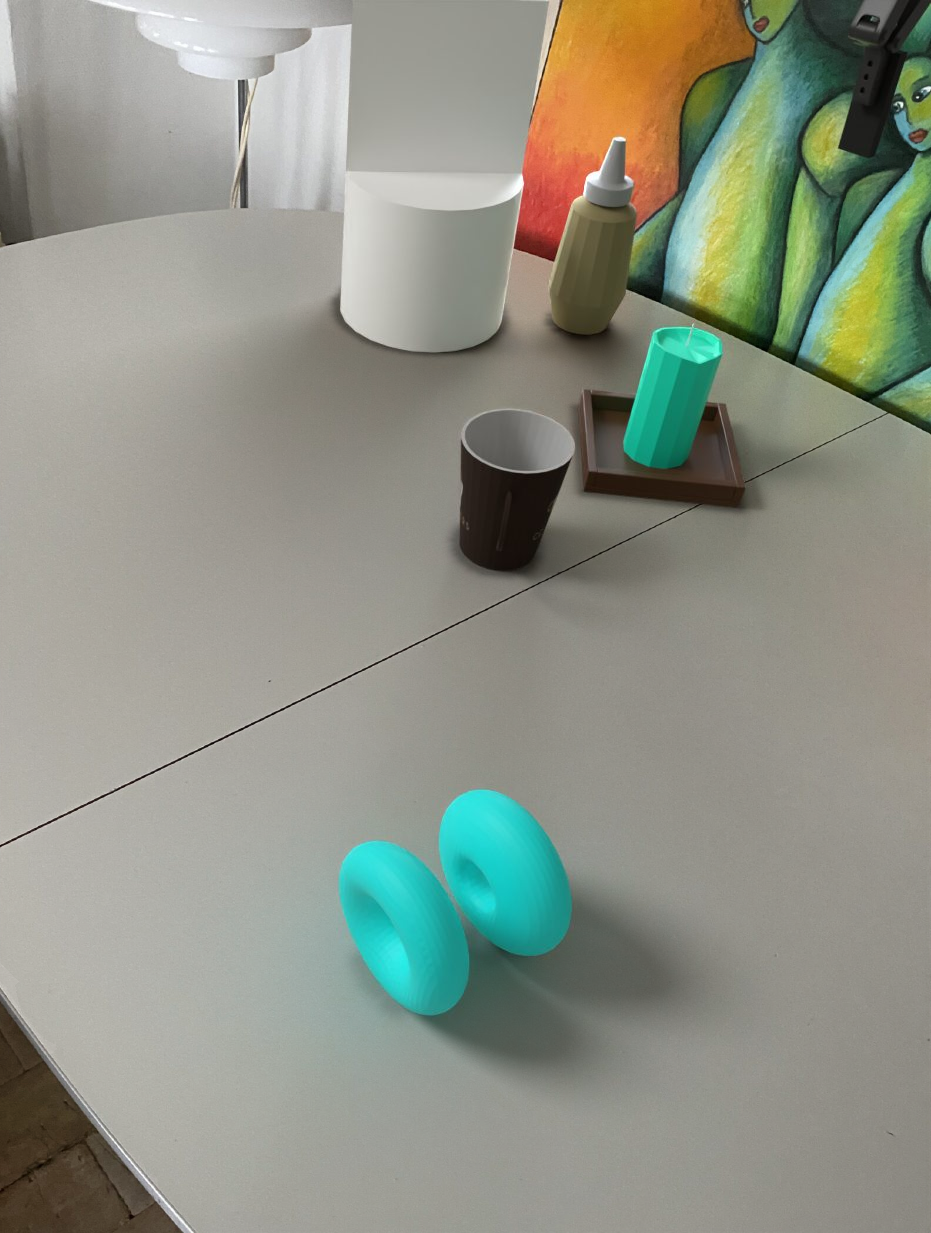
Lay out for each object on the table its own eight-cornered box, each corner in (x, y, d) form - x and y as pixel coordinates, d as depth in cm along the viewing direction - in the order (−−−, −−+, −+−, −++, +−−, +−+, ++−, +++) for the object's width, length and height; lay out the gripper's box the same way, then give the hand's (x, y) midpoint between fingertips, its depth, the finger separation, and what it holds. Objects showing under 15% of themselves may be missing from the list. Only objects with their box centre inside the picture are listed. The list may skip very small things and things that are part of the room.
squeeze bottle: (632, 330, 113) (680, 146, 99) (576, 348, 110) (617, 161, 96) (582, 297, 117) (621, 117, 103) (526, 314, 114) (559, 130, 100)
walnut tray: (719, 422, 102) (725, 403, 100) (738, 507, 93) (746, 487, 91) (577, 408, 102) (582, 388, 100) (583, 491, 93) (588, 471, 92)
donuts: (562, 971, 62) (600, 874, 54) (421, 1056, 58) (442, 964, 50) (461, 851, 67) (483, 747, 59) (326, 920, 63) (331, 819, 56)
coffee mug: (480, 501, 91) (498, 395, 84) (568, 541, 88) (594, 435, 81) (405, 568, 85) (416, 460, 77) (497, 614, 82) (518, 507, 74)
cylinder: (332, 272, 117) (342, -35, 96) (485, 272, 119) (527, -28, 98) (348, 352, 106) (364, 26, 85) (517, 351, 108) (573, 32, 87)
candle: (616, 458, 96) (651, 331, 87) (629, 425, 99) (664, 300, 90) (682, 475, 95) (724, 348, 85) (693, 441, 98) (734, 316, 89)
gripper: (1093, -260, 72) (966, 95, 88) (861, -244, 62) (764, 153, 78) (1206, -254, 68) (1051, 118, 83) (976, -236, 58) (849, 182, 73)
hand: (912, 135), depth 81 cm, fingers open, 13 cm apart
